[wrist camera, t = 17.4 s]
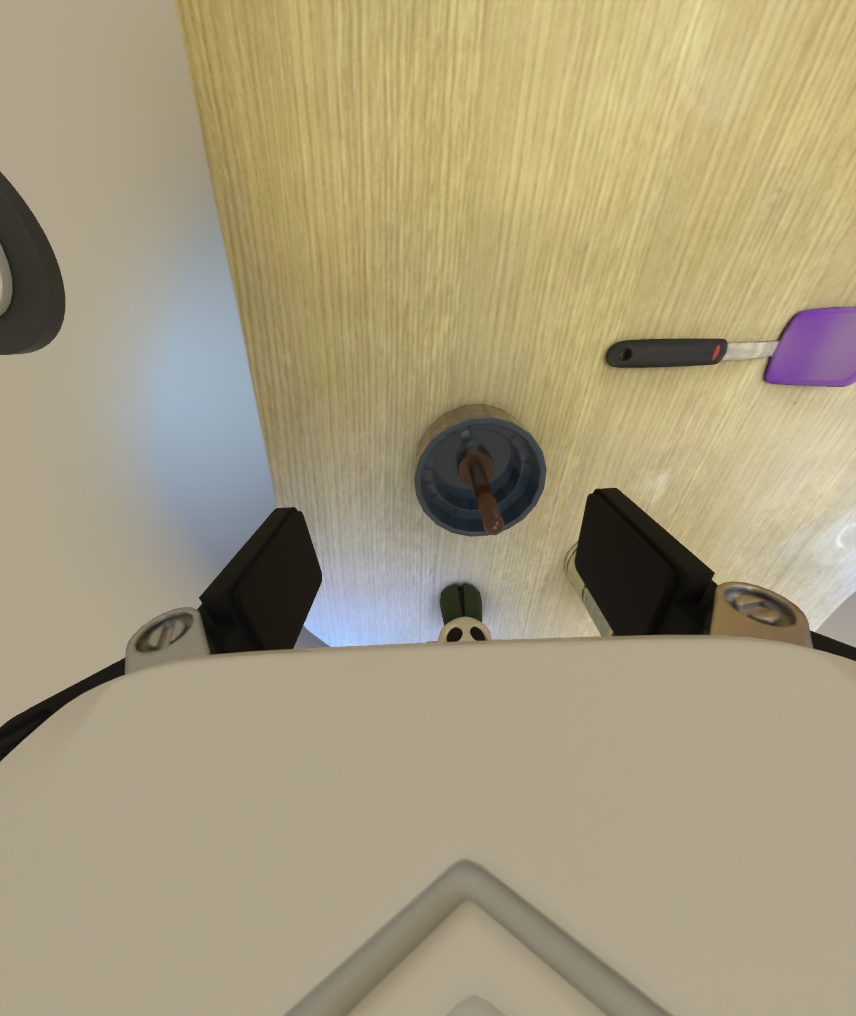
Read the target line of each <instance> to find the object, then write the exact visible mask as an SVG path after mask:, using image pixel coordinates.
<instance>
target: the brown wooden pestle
mask: <svg viewBox="0 0 856 1016" xmlns="http://www.w3.org/2000/svg"><path fill="white" fill-rule="evenodd" d="M457 468H458V473H459V476H460V478H461V480H462V481H463V482H465V483H466V484H468V485H471V486H473V488H474V491H475V495H476V499H477V503H478V506H479V510H480V514H481V518H482V521H483V525H484V529H485V530H486V532H487V533H489V534H491V535H497V534H499V533H501V532H502V530H503V529H504V522H503V519H502V516H501V514H500V511H499V508H498V506H497V503H496V500H495V498H494V495H493V492H492V490H491V487H490V484H489V480H490V478H491V477H492V475H493V473H494V463H493V461H492V458H491V456H490V454H489V453H488V452H487V451H486V450H485V449H483V448H480V447H471V448H468V449H466V450H464V451H463V452H462V453H461V454H460V456H459V458H458V461H457Z"/></svg>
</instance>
